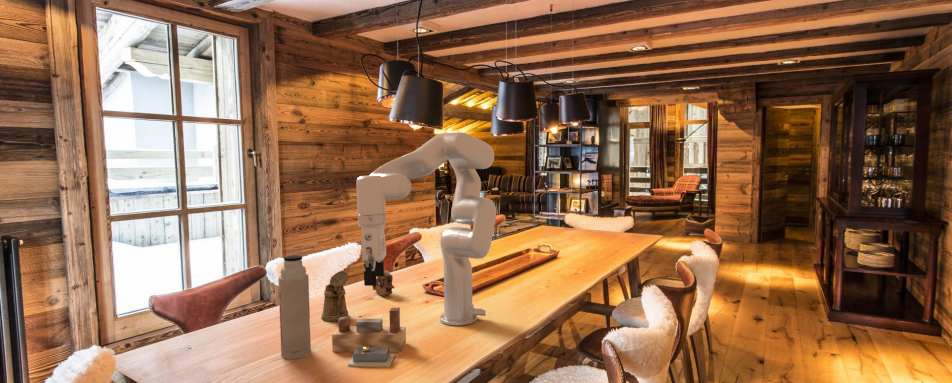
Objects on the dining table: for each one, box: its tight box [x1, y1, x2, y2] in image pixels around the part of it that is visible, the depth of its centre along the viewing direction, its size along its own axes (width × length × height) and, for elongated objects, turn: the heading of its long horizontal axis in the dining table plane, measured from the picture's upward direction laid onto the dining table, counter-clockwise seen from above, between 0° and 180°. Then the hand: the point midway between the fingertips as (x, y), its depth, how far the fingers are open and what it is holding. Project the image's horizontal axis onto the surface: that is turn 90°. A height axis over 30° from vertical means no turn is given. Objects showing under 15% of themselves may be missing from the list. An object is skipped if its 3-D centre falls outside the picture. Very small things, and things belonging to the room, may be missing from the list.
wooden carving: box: [372, 269, 395, 297], centre depth 204 cm, size 16×5×10 cm, turn 41°
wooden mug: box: [321, 271, 349, 322], centre depth 174 cm, size 9×14×18 cm, turn 30°
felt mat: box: [347, 353, 395, 368], centre depth 139 cm, size 11×7×1 cm, turn 87°
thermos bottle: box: [277, 254, 312, 360], centre depth 144 cm, size 8×8×28 cm
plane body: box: [331, 307, 407, 353], centre depth 148 cm, size 20×7×11 cm, turn 87°
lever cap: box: [352, 346, 391, 362], centre depth 139 cm, size 9×5×3 cm, turn 88°
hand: (374, 280), depth 142 cm, fingers open, 9 cm apart
